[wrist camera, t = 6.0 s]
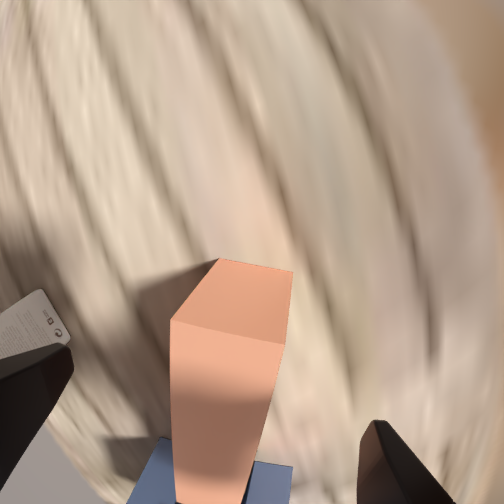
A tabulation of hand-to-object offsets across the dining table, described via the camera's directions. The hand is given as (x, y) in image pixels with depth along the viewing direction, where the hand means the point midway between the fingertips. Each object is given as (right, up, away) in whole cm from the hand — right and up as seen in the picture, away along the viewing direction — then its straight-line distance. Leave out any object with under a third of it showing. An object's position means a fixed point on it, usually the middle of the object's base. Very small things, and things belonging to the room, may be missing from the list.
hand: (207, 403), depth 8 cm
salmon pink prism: (0, -3, +9) cm, 9 cm away
